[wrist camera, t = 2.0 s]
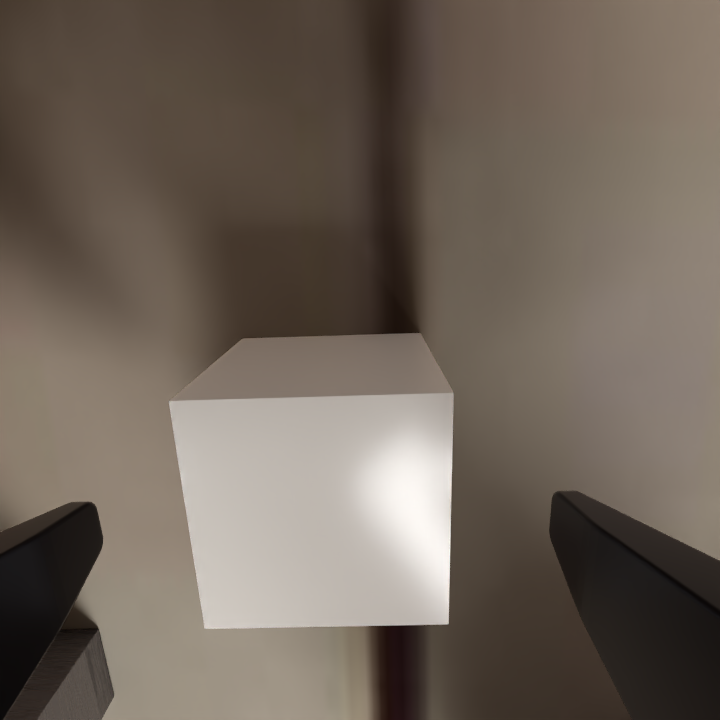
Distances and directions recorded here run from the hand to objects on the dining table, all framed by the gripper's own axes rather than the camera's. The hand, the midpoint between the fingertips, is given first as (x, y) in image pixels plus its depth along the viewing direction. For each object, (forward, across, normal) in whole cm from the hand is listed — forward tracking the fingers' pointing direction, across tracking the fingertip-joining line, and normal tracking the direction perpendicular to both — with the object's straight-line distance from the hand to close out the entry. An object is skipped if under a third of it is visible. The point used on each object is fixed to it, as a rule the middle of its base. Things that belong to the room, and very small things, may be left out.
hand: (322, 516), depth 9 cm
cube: (+5, 0, 0) cm, 5 cm away
